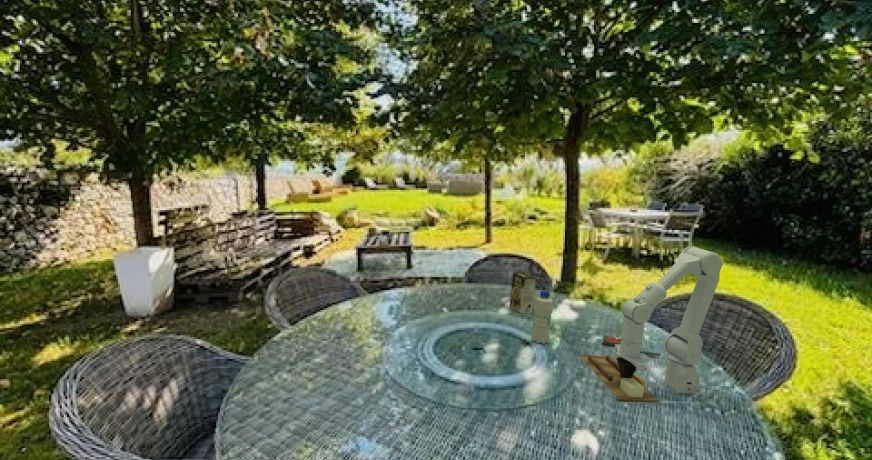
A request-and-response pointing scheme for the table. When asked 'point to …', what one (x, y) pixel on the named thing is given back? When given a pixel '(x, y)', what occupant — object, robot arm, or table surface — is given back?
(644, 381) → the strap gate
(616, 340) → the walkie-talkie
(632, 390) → the plug
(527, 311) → the coffee box
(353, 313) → the table surface
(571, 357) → the table surface
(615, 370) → the cradle
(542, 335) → the bottle
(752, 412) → the table surface
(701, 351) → the robot arm
